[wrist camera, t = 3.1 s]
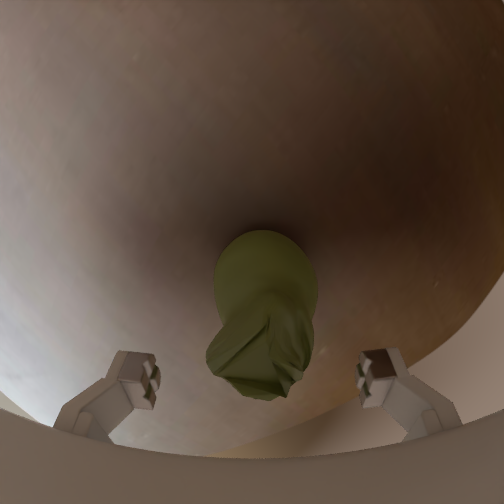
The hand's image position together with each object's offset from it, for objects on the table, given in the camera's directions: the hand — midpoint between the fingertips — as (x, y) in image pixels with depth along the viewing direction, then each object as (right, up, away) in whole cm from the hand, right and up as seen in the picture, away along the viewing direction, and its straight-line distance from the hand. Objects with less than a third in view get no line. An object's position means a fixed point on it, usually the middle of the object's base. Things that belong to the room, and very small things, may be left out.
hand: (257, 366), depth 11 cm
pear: (0, +4, +8) cm, 9 cm away
